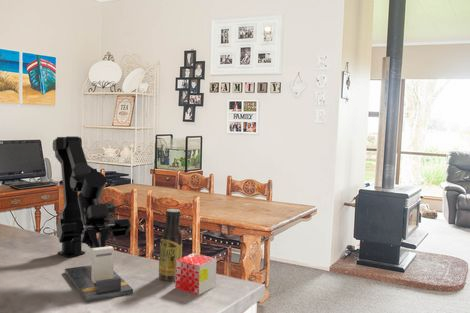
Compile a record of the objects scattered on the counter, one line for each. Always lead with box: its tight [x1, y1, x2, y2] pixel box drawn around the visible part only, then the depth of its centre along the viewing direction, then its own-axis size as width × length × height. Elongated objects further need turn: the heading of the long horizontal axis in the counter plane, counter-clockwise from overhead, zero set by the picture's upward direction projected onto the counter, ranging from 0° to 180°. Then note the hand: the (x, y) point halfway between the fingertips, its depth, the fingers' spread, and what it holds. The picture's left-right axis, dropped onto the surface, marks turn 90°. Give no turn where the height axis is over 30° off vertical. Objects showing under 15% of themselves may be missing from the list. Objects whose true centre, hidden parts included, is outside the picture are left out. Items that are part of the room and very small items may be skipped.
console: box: [64, 264, 134, 303], centre depth 130 cm, size 24×12×4 cm, turn 32°
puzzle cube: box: [174, 252, 217, 295], centre depth 129 cm, size 8×8×8 cm
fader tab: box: [91, 245, 115, 283], centre depth 126 cm, size 3×5×9 cm, turn 122°
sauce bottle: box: [158, 208, 183, 282], centre depth 135 cm, size 6×6×20 cm
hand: (101, 257), depth 127 cm, fingers closed, pressing on fader tab
